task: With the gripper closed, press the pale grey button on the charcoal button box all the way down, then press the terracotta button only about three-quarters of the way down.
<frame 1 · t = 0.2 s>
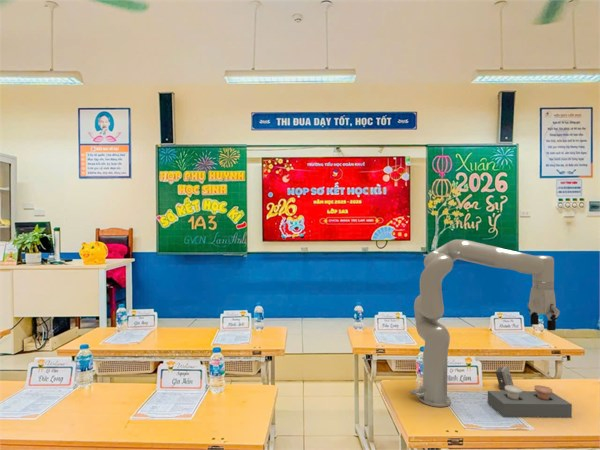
hand: (542, 327, 163), 31 cm above the table, tool pointing down, fingers open, 9 cm apart
button box: (528, 410, 155), on the table
terracotta button: (543, 394, 155), point 6 cm above the table, slide at 0.0 cm
electrical switch: (504, 388, 177), on the table
grey button: (513, 394, 155), point 6 cm above the table, slide at 0.0 cm
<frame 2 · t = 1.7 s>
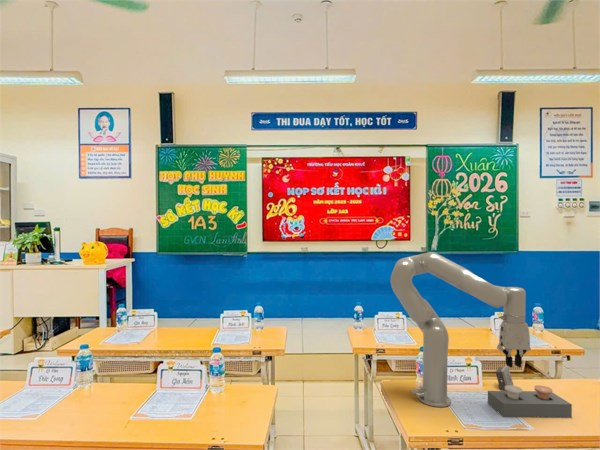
hand: (513, 365, 155), 17 cm above the table, tool pointing down, fingers closed
nothing on the table moved.
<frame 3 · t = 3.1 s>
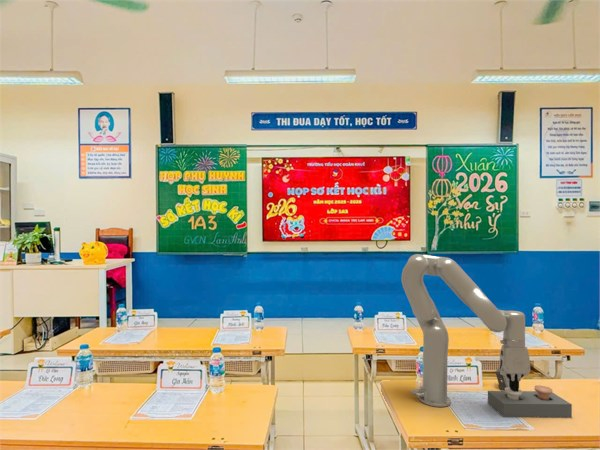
hand: (514, 390, 155), 8 cm above the table, tool pointing down, fingers closed
grey button: (513, 396, 155), point 5 cm above the table, slide at 0.8 cm, touching gripper
everything else where it was.
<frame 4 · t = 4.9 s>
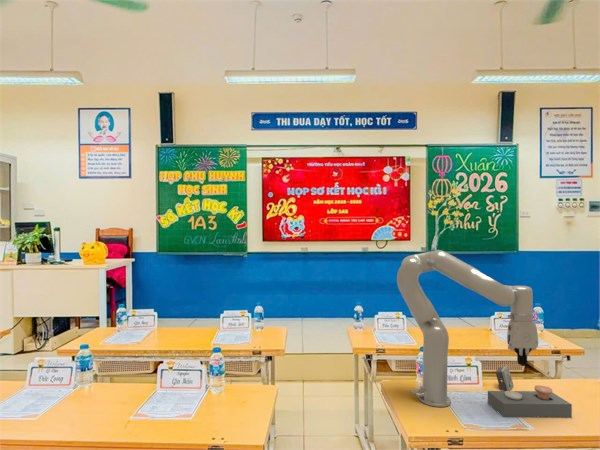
hand: (522, 364, 155), 18 cm above the table, tool pointing down, fingers closed
grey button: (513, 400, 155), point 4 cm above the table, slide at 2.3 cm
everything else where it was.
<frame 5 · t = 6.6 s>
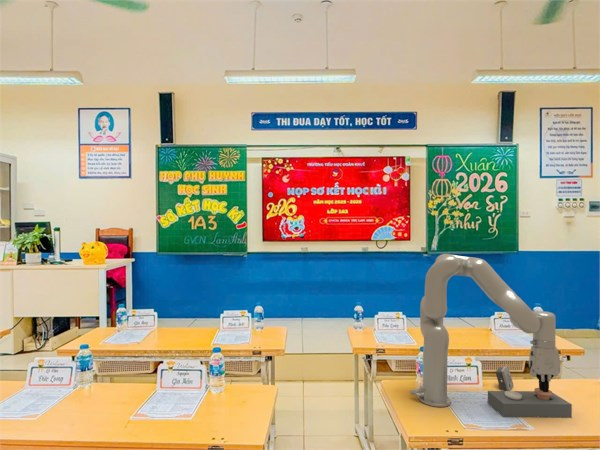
hand: (543, 390, 155), 8 cm above the table, tool pointing down, fingers closed
terracotta button: (543, 397, 155), point 5 cm above the table, slide at 0.9 cm, touching gripper
everything else where it was.
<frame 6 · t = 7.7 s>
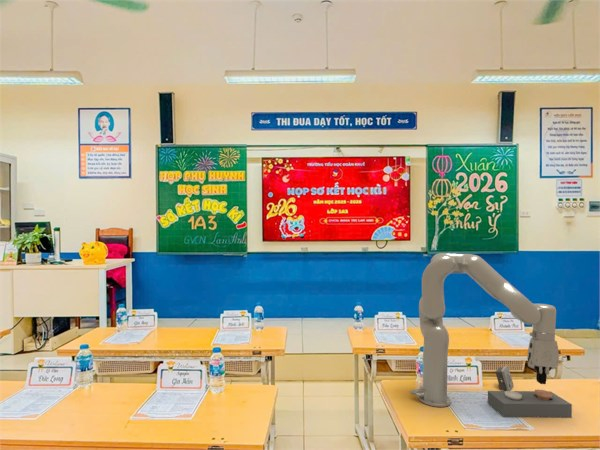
hand: (541, 382, 155), 11 cm above the table, tool pointing down, fingers closed
terracotta button: (543, 399, 155), point 4 cm above the table, slide at 1.6 cm
everything else where it was.
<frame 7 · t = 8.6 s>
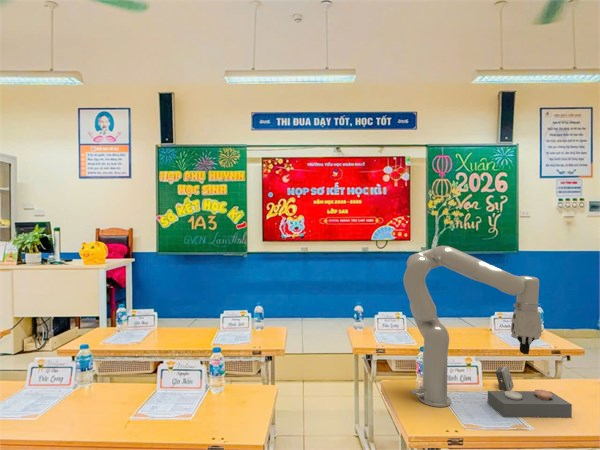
hand: (524, 353, 158), 21 cm above the table, tool pointing down, fingers closed
nothing on the table moved.
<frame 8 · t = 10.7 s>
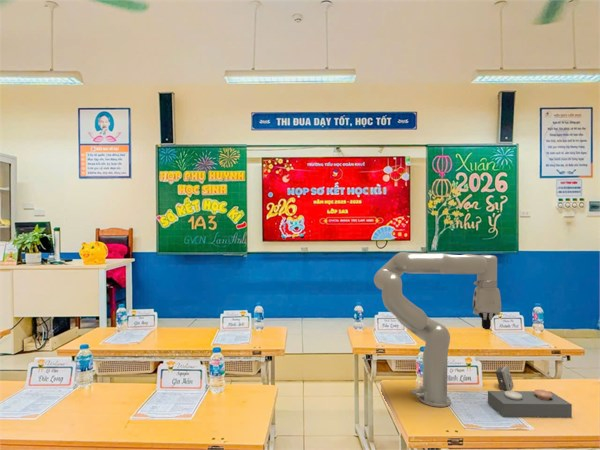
hand: (486, 328, 165), 29 cm above the table, tool pointing down, fingers closed
nothing on the table moved.
at the end: grey button slide at 2.3 cm; terracotta button slide at 1.6 cm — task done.
